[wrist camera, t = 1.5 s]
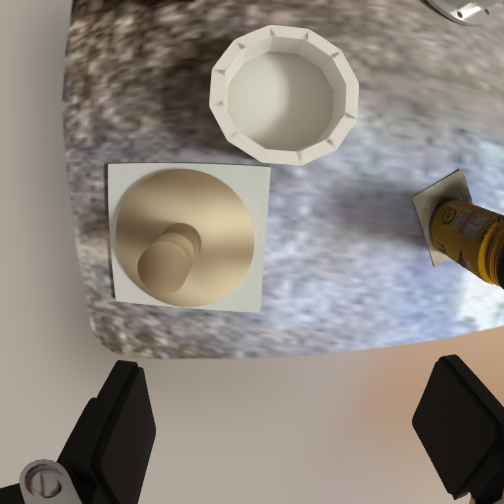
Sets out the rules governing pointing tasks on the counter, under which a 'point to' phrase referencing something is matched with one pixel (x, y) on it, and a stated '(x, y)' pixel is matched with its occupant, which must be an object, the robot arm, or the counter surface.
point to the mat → (236, 177)
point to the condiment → (462, 229)
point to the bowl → (284, 95)
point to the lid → (185, 238)
